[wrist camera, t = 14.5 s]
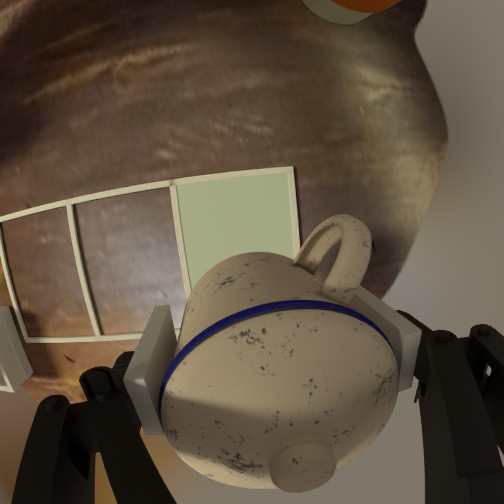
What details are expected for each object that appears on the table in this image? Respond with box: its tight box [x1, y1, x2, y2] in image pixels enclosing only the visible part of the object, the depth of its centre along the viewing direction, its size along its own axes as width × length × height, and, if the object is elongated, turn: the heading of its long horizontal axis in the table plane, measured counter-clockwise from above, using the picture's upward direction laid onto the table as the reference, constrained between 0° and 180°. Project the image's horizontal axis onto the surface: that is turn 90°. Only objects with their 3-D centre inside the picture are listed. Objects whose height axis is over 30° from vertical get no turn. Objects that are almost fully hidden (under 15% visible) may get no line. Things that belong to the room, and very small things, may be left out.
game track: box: [0, 166, 300, 343], centre depth 30 cm, size 35×16×1 cm, turn 96°
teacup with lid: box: [158, 214, 399, 493], centre depth 12 cm, size 12×9×12 cm
